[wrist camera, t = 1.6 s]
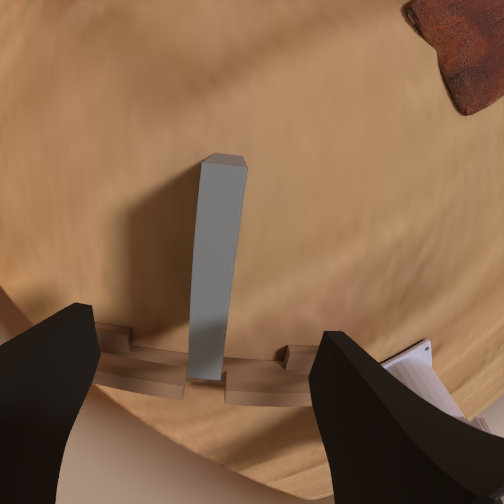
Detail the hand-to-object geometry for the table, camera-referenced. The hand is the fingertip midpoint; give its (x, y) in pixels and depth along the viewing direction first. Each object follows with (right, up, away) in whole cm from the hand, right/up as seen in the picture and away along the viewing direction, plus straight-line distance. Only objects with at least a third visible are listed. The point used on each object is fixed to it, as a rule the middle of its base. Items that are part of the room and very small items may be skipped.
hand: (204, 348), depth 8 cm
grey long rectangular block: (-1, +4, +10) cm, 10 cm away
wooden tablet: (+25, +24, +4) cm, 35 cm away
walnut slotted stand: (-2, -6, +13) cm, 15 cm away
